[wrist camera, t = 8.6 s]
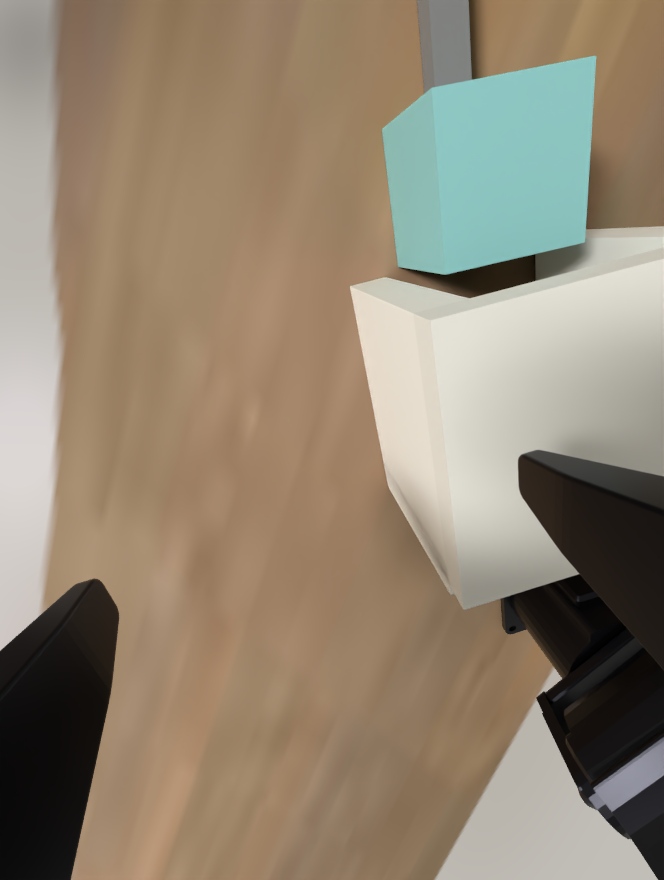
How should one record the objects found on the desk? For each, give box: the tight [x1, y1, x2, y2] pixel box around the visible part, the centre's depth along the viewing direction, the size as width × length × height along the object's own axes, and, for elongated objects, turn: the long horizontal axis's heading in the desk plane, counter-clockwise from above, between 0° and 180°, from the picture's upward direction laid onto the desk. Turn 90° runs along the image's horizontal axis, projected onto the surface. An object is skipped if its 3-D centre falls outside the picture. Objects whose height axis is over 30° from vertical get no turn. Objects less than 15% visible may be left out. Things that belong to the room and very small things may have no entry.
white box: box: [350, 226, 664, 610], centre depth 17 cm, size 10×10×9 cm
